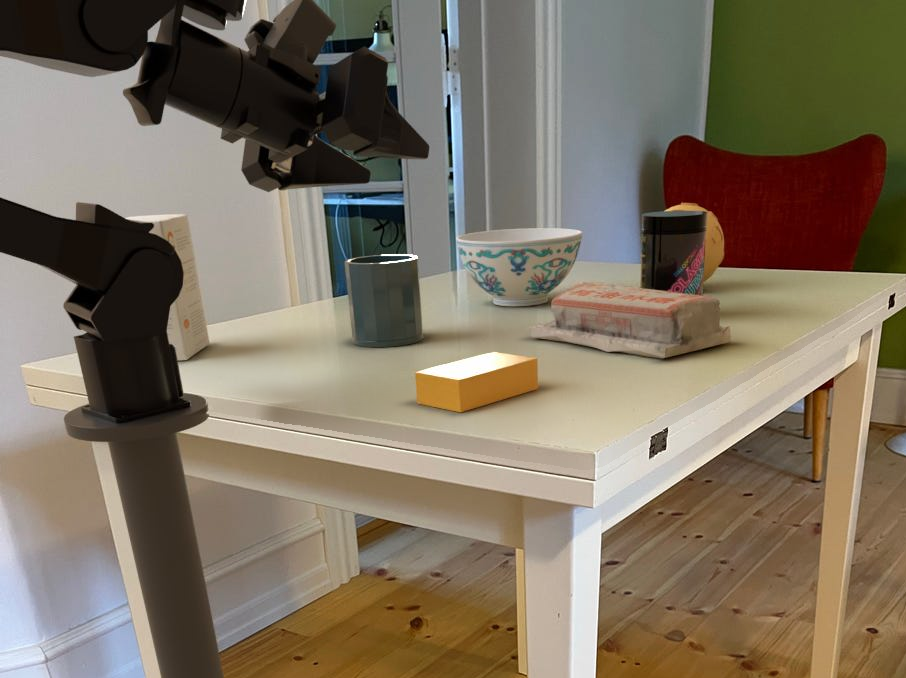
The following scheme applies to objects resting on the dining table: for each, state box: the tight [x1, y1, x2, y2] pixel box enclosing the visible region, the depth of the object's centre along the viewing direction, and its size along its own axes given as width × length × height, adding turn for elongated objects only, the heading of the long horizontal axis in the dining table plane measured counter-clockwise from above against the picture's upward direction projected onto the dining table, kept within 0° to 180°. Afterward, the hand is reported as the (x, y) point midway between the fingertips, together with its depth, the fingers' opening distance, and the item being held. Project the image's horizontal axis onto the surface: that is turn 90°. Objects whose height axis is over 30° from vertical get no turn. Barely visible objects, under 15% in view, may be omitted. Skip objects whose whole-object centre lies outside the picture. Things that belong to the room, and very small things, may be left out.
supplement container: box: [639, 210, 707, 295], centre depth 105 cm, size 7×7×10 cm
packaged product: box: [529, 281, 732, 360], centre depth 96 cm, size 18×5×10 cm
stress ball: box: [664, 202, 725, 284], centre depth 122 cm, size 10×10×10 cm
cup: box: [344, 254, 424, 348], centre depth 101 cm, size 7×7×8 cm
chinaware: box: [455, 227, 583, 307], centre depth 120 cm, size 15×15×8 cm
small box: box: [125, 213, 211, 361], centre depth 99 cm, size 8×6×13 cm
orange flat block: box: [414, 351, 539, 413], centre depth 79 cm, size 9×5×2 cm, turn 136°
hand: (397, 165), depth 84 cm, fingers open, 9 cm apart
